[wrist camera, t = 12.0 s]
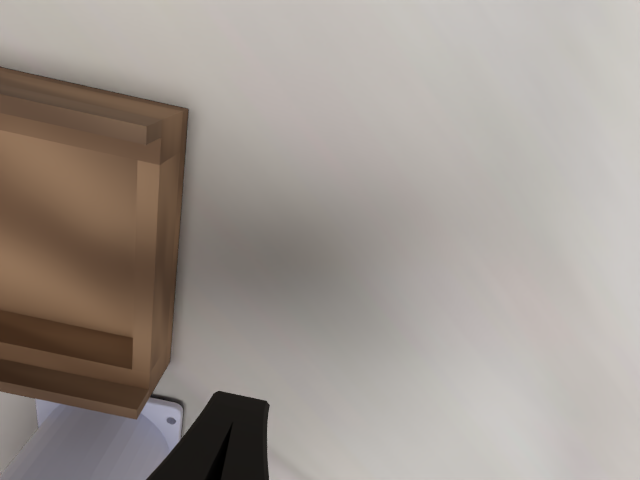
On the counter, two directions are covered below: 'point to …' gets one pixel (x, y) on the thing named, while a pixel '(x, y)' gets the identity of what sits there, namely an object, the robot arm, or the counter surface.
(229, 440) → the robot arm
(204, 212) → the counter surface
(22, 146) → the walnut box
